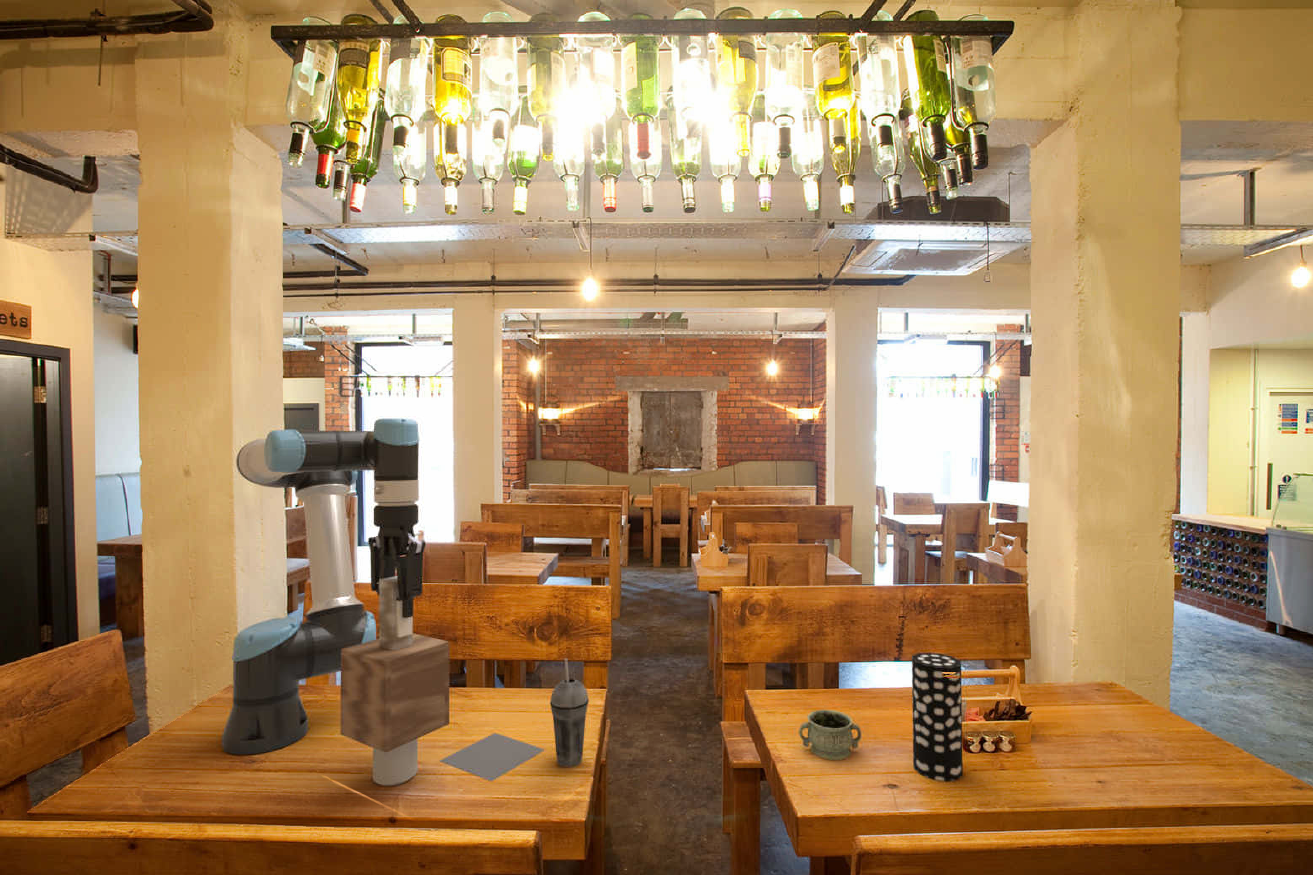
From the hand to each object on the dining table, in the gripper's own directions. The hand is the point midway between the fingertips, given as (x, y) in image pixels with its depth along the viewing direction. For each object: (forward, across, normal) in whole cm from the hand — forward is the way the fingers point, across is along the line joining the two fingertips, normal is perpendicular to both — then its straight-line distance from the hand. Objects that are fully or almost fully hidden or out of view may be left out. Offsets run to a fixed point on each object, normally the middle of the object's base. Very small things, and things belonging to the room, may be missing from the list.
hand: (396, 633), depth 115 cm
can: (+26, 0, 0) cm, 26 cm away
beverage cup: (+26, +23, +21) cm, 41 cm away
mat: (+26, +9, +15) cm, 31 cm away
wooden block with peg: (+17, 0, 0) cm, 17 cm away
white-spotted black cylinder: (+27, +82, +55) cm, 102 cm away
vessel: (+27, +63, +52) cm, 86 cm away
